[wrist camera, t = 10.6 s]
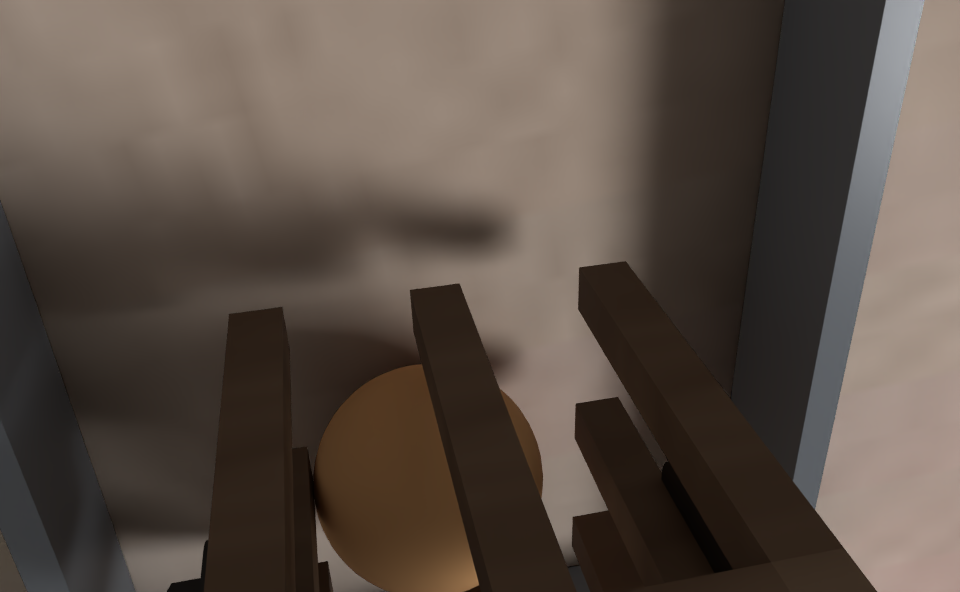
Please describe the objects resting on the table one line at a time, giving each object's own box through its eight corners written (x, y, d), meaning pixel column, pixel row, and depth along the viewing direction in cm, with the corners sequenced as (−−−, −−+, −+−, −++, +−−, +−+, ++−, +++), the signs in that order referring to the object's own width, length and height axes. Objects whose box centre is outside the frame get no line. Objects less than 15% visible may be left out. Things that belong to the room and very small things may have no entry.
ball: (267, 519, 12) (320, 638, 15) (545, 516, 12) (547, 638, 15) (312, 320, 15) (350, 450, 18) (538, 314, 15) (541, 447, 18)
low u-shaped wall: (-180, -165, 11) (-302, -158, 8) (850, -210, 13) (970, -215, 11) (132, 670, 19) (112, 786, 16) (731, 554, 21) (786, 642, 19)
